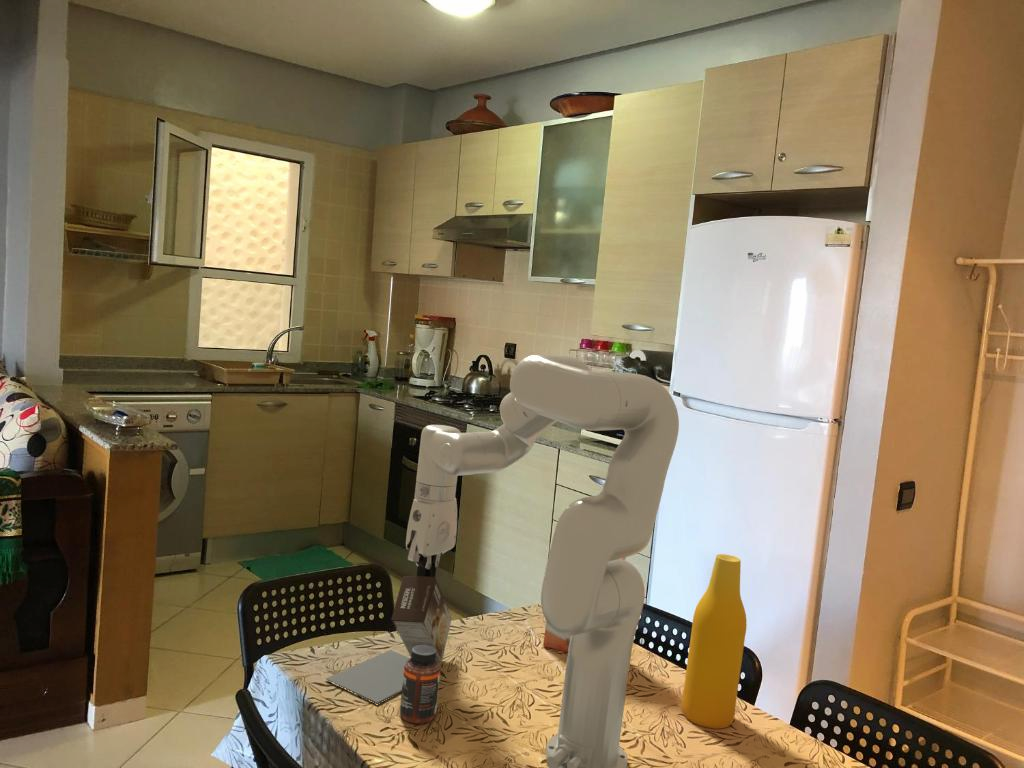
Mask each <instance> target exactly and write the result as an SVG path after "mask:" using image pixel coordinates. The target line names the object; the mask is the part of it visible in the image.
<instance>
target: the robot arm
mask: <svg viewBox="0 0 1024 768" xmlns="http://www.w3.org/2000/svg"><path fill="white" fill-rule="evenodd" d="M509 390H510V392H509V393H507V394H506V395H505V396H504V397H503V398H502V400H501V402H500V405H499V413H500V418H501V420H502V423H503V424H501V425H500V426H499V427H497V428H496V429H493V430H492V431H477V432H476V431H474V432H473V431H471V432H461V430H460V429H458V428H457V427H454V426H450V425H444V424H430V425H429V424H428V425H426V426H425V427H423V428H422V431H421V434H420V445H419V453H418V461H417V462H418V463H417V471H416V478H415V479H416V480H415V481H416V482H415V488H414V489H415V490H414V498H413V502H412V505H411V509H410V513H409V518H408V522H407V528H406V529H407V530H406V538H405V547H406V548H405V549H406V550H407V551H408V556H407V560H408V561H411V562H413V563H415V565H416V566H417V568H416V569H417V571H416V576H424V577H436V574H437V567H439V564H440V559H441V557H442V556H443V555H444V554H445V553H447V552H448V551H450V550H452V549H453V548H454V547H455V546H456V541H457V530H458V504H457V503H458V501H457V498H456V492H457V482H458V476H469V475H476V474H489V473H497V472H501V471H502V470H504V469H505V470H506V468H508V467H510V466H512V465H513V464H515V463H517V462H518V461H519V460H521V459H522V458H524V457H525V456H526V455H528V453H530V451H531V450H532V448H533V446H534V444H535V442H536V441H537V436H538V435H540V434H542V433H543V432H544V431H546V430H548V428H550V427H552V426H553V425H554V424H556V423H557V422H559V423H562V424H565V425H567V426H569V427H573V428H575V429H576V428H577V429H580V430H585V431H594V432H597V431H598V432H599V431H618V430H622V431H624V435H623V437H622V440H621V441H620V443H619V444H618V446H617V447H616V449H615V450H614V452H613V454H612V456H611V459H610V461H609V464H608V468H607V473H606V477H605V481H604V484H603V487H602V490H601V491H600V493H598V494H597V495H591V496H586V497H581V498H579V499H578V498H577V500H574V501H573V502H571V503H570V504H569V505H567V507H566V508H565V509H564V510H563V511H562V513H561V515H560V516H559V518H558V520H557V522H556V526H555V529H554V533H553V536H552V541H551V544H550V549H549V554H548V558H547V562H546V565H545V566H546V567H545V572H544V575H543V579H542V583H541V584H542V585H541V591H540V605H541V610H542V614H543V617H544V619H545V622H546V621H547V623H548V624H549V625H550V627H551V628H553V629H554V630H555V631H556V632H558V633H561V634H564V635H571V639H570V643H569V649H568V652H567V657H566V664H565V665H566V666H565V673H564V681H563V688H562V689H563V690H562V698H561V706H560V712H559V723H558V729H557V730H558V731H557V734H555V735H553V736H552V737H550V738H549V739H548V740H547V743H546V746H545V748H546V749H545V756H546V766H547V767H548V768H628V763H629V761H628V755H627V754H626V752H625V750H624V748H622V747H621V746H620V741H621V736H622V735H621V734H622V727H623V717H624V710H625V703H626V697H627V688H628V681H629V680H628V679H629V672H630V666H631V659H632V653H633V652H632V651H633V645H634V640H635V635H636V632H637V628H638V625H639V621H640V617H641V616H642V612H643V608H644V603H645V590H646V589H645V584H644V580H643V578H642V576H641V574H640V573H641V572H639V570H638V568H636V567H635V566H634V565H633V564H632V563H631V562H629V561H628V560H626V559H625V560H623V559H621V558H625V557H626V558H628V557H631V556H634V555H637V554H639V553H640V552H643V551H644V550H645V549H646V548H647V546H648V545H649V543H650V541H651V537H652V534H653V530H654V527H655V522H656V519H657V514H658V511H659V508H660V504H661V499H662V495H663V492H664V488H665V487H664V486H665V484H666V483H665V482H666V478H667V473H668V470H669V468H670V464H671V461H672V458H673V454H674V451H675V448H676V445H677V441H678V436H679V429H680V428H679V427H680V420H679V412H678V408H677V405H676V403H675V400H674V398H673V397H672V396H671V394H670V392H669V391H668V390H667V388H665V387H664V386H663V384H661V383H660V382H659V381H657V380H656V379H653V378H652V377H649V376H647V375H644V374H643V375H642V374H640V373H639V374H638V373H633V372H632V373H631V372H612V371H611V372H610V371H609V372H607V371H593V370H592V369H591V368H590V367H589V366H588V365H587V363H585V362H584V361H582V360H580V359H579V358H576V357H573V356H567V355H553V354H552V355H551V354H532V355H529V356H527V357H525V358H522V360H520V361H518V364H516V366H515V367H514V368H513V370H512V372H511V375H510V379H509Z"/></svg>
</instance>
